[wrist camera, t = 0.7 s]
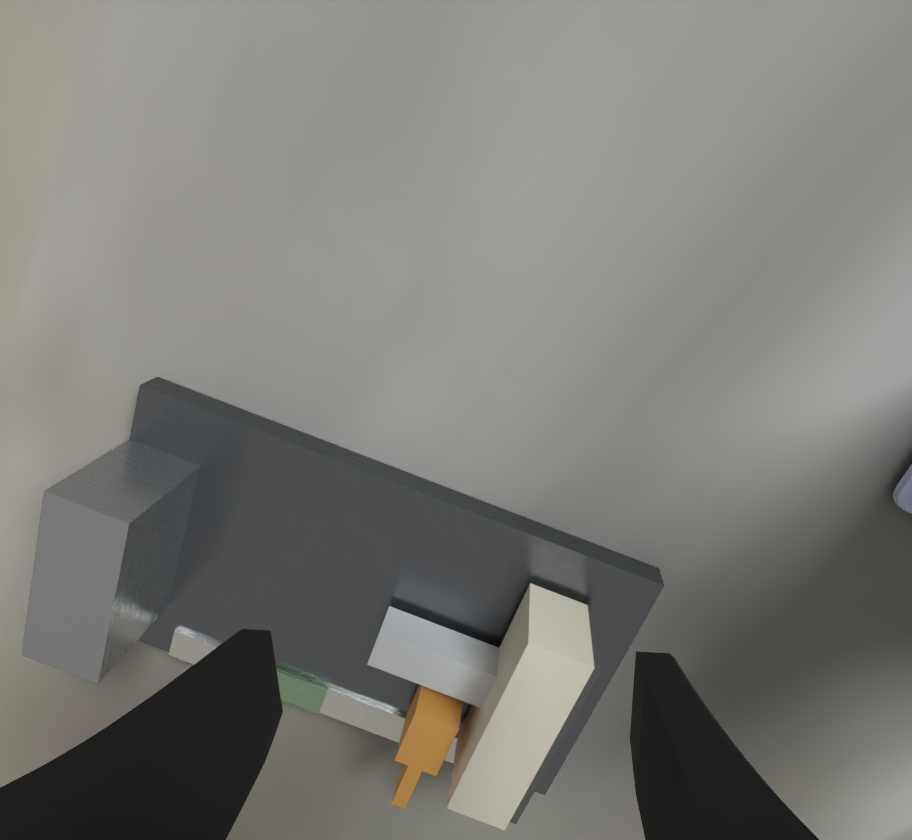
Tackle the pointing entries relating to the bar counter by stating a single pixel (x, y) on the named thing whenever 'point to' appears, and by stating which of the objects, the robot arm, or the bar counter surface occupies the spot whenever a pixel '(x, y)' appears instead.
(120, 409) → the bar counter surface
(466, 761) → the cream and grey block
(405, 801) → the orange stepped block
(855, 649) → the bar counter surface
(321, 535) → the plate
